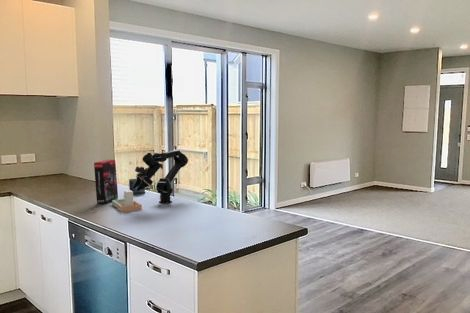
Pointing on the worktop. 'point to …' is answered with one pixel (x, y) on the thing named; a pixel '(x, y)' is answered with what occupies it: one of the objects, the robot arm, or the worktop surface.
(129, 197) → the cream rectangular block
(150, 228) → the worktop surface
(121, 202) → the frame
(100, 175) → the graphics card box
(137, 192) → the small box
